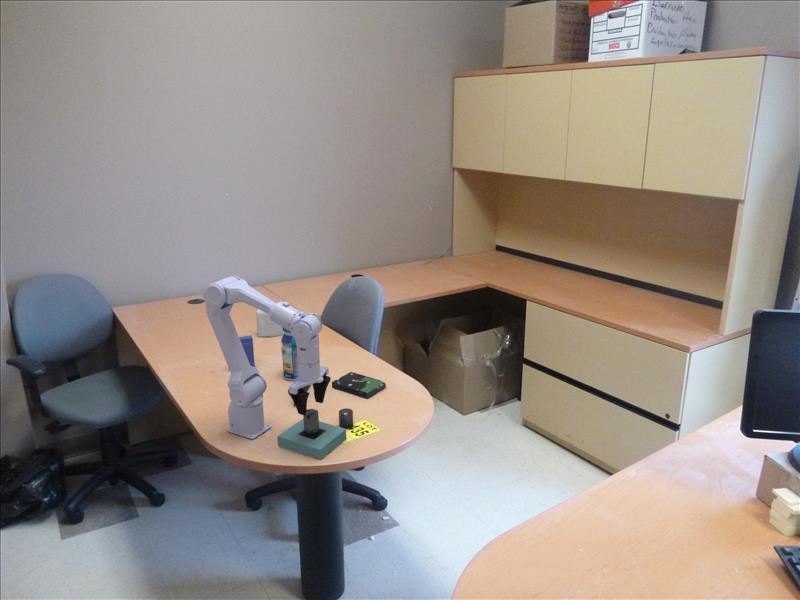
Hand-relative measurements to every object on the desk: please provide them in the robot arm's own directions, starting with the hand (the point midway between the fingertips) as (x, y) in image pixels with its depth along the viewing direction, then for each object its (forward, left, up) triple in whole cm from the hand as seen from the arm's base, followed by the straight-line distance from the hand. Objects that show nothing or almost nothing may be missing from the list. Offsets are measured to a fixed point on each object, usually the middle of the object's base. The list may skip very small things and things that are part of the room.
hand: (310, 408), depth 156 cm
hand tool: (-21, +23, -11) cm, 33 cm away
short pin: (+3, +12, -10) cm, 16 cm away
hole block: (0, 0, -10) cm, 10 cm away
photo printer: (-65, +59, -11) cm, 88 cm away
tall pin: (0, 0, -10) cm, 10 cm away
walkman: (-51, +28, -11) cm, 59 cm away
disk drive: (-7, +35, -11) cm, 37 cm away
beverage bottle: (-31, +32, -11) cm, 46 cm away
